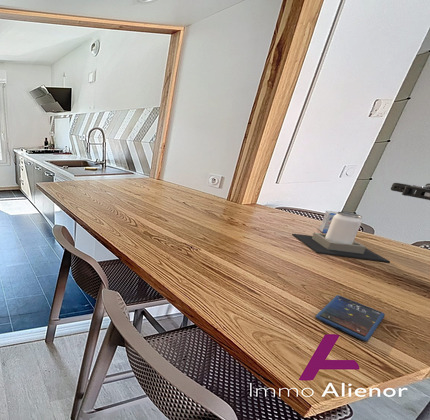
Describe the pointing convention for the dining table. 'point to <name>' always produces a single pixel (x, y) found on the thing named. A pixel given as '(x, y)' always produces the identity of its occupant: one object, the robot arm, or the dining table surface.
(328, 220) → the medicine box
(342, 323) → the smartphone
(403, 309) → the dining table surface
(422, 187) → the robot arm
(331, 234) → the can
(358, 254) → the pad
